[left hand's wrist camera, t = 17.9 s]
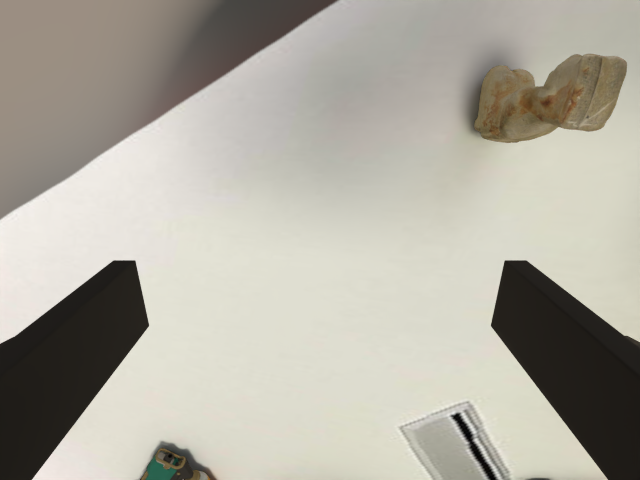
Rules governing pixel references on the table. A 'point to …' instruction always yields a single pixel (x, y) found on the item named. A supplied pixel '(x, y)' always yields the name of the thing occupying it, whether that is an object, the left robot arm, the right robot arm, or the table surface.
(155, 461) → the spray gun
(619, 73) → the sculpture
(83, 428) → the table surface
